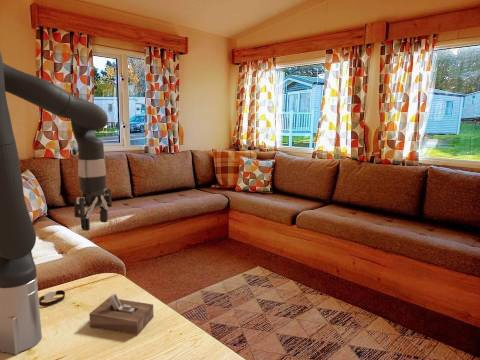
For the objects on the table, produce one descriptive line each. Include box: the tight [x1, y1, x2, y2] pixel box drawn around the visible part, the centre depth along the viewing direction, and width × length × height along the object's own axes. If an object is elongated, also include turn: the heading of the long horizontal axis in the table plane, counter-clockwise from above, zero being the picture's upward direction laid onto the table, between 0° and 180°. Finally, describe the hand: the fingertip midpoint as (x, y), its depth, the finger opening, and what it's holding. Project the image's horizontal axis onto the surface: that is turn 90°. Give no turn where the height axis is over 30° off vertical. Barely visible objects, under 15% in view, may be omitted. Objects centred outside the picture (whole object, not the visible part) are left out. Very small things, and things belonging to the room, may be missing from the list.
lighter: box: [108, 293, 135, 314], centre depth 101 cm, size 7×2×8 cm, turn 77°
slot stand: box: [89, 297, 155, 336], centre depth 101 cm, size 9×15×4 cm, turn 76°
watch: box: [38, 289, 66, 308], centre depth 111 cm, size 8×5×4 cm, turn 142°
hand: (95, 226), depth 108 cm, fingers open, 8 cm apart
